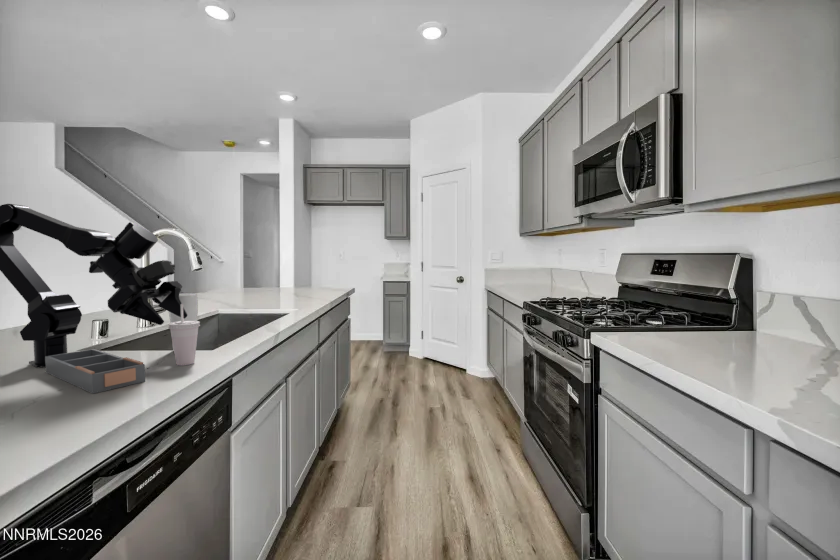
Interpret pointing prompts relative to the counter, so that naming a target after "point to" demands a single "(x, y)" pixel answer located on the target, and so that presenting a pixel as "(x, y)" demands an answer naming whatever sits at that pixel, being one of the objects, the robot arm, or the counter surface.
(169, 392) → the counter surface
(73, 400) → the counter surface
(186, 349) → the smoothie
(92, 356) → the bottle caddy
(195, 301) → the drinking glass
